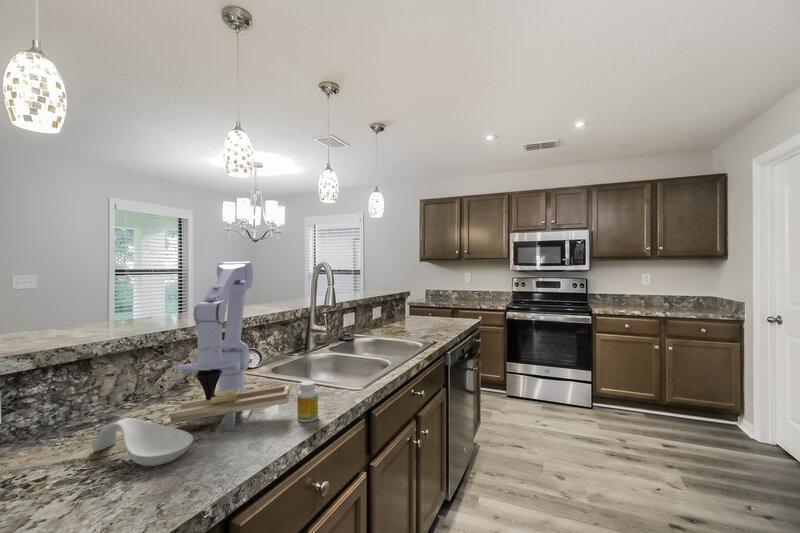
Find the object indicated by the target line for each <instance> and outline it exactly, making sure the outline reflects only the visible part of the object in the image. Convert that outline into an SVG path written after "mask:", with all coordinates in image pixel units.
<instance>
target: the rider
mask: <svg viewBox="0 0 800 533" xmlns="http://www.w3.org/2000/svg"><path fill="white" fill-rule="evenodd" d="M240 400H241V394H240V388H237V389H230V390H224V391H218V390H217V391H216V392H214V395H213V396H212V397H211V405H217V404H223V403H229V402H235V401H240Z"/></svg>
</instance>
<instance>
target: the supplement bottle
mask: <svg viewBox="0 0 800 533" xmlns="http://www.w3.org/2000/svg"><path fill="white" fill-rule="evenodd" d="M318 417H319V391H318V390H317V389H316V382H315V381H313V380H304V381H301V382H300V383H299V391H298V392H297V420H298V421H299V422H301V423H308V422H309V423H310V422H314V421H315V420H317V419H318Z"/></svg>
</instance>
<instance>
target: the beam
mask: <svg viewBox="0 0 800 533" xmlns="http://www.w3.org/2000/svg"><path fill="white" fill-rule="evenodd" d="M240 394H241V400H240V401H235V402H229V403H223V404H217V405H211V400H206V398H201V399H196V400H189V401H182V402H181V403H180V409H179V410H176V411H171V412H170V413H169V418H170V424H174V423H180V422H186V421H192V420H197V419H203V418H207V417H209V418H210V417H215V416H220V415H225V413H226V412H227V411H235V412H239V411H244V410H250V409H251V410H256V409H261V408H266V407H267V408H268V407H272V406H279V405H283V404H288V403H289V399H290V395H291V387H290V384H287V385H282V386H281V385H280V386H274V387H267V388H262V389H257V390H249V391H245V392H243V393H240Z"/></svg>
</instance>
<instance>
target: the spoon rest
mask: <svg viewBox="0 0 800 533" xmlns="http://www.w3.org/2000/svg"><path fill="white" fill-rule="evenodd" d="M118 428H119V429H120V431H121V434H122V440H123V445H124V449H125V451H126V453H127V455H128V457H129V458H130V459H131V460H132V461H133V462H134V463H136V464H137V465H139V466H140V465H141V466H144V467H156V466H157V465H158V466H162V465H164V464H167V463H170V462H172V461H174V460H176V459H178V458H179V457H182V455H183V454H185V453H186V452H187V451H188V450H189V448H190V447H191V445H192V444H193V442H194V436H193V434H191V433H190V432H187V431H186V430H183V429H178V428H175V427H170V426H166V425H162V424H158V423H154V422H150V421H147V420H142V419H138V418H135V417H134V418H133V417H125V418H122V419H120V420H118V421H116V422H110V423H108V424H107V425H105V426H103V427H102V428H101V430H100V431H99V432H98V434H97V436H96V438H95V439H94V441H93V447H92V452H99V451H102V450H104V449H107V448H108V447H113V446H114V445H115V444H116V443H117V430H118ZM161 464H162V465H161ZM158 466H157V467H158Z"/></svg>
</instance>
